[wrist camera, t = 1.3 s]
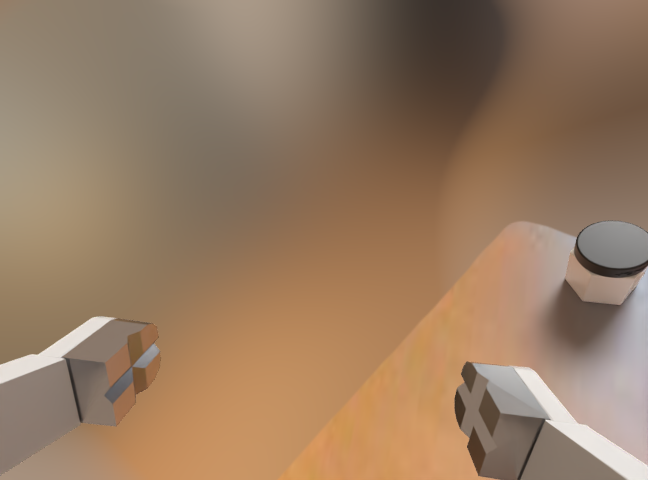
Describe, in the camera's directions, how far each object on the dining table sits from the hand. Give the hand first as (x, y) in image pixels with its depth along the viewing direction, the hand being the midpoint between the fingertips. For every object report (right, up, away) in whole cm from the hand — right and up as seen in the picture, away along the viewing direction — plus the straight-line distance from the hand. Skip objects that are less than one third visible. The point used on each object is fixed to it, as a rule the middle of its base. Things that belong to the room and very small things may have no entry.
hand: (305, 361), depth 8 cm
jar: (+46, -4, +42) cm, 63 cm away
